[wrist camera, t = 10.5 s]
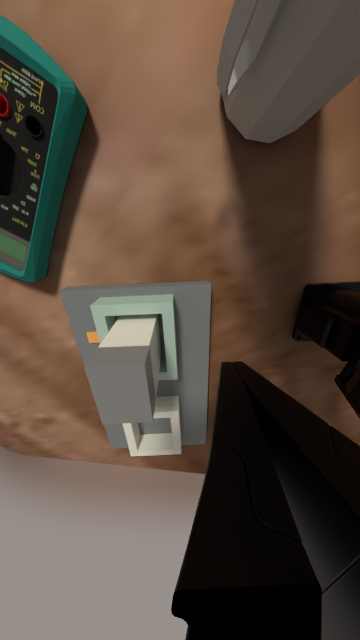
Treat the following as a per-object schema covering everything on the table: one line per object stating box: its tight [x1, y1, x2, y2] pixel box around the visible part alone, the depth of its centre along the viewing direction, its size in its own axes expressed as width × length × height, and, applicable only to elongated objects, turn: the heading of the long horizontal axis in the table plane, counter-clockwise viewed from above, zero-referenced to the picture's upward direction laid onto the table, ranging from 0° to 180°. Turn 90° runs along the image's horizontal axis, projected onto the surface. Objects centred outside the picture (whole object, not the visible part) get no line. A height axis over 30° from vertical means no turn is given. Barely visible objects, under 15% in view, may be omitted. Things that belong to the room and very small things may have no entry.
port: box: [90, 294, 178, 380], centre depth 18 cm, size 7×8×2 cm
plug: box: [84, 314, 161, 424], centre depth 15 cm, size 4×5×8 cm
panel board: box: [60, 281, 211, 448], centre depth 22 cm, size 14×24×2 cm, turn 2°
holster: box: [122, 396, 181, 456], centre depth 23 cm, size 7×8×2 cm
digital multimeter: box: [0, 15, 87, 283], centre depth 13 cm, size 7×15×3 cm, turn 151°
